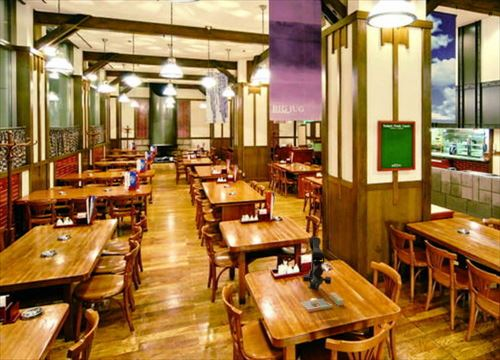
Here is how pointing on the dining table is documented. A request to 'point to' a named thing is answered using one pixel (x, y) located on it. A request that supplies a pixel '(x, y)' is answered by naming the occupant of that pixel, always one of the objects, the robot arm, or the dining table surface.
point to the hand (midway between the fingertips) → (316, 290)
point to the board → (316, 305)
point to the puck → (313, 301)
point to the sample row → (336, 298)
